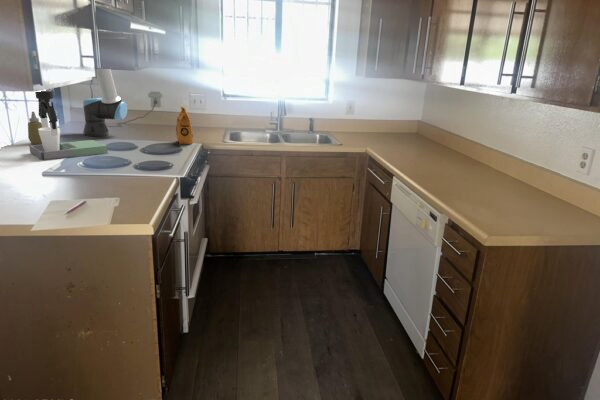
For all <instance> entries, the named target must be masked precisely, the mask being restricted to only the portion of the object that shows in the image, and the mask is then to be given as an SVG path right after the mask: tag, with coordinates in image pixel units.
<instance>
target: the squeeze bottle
mask: <svg viewBox="0 0 600 400" xmlns="http://www.w3.org/2000/svg"><path fill="white" fill-rule="evenodd" d="M30 116H31V117H30V118H28V121H29V122H28V123H27V133H28V134H27V135H28V136H27V137H28V140H29V142H30V144H31V145H42V141H41V138H40V134H39V131H38V129H40V128H42V124H41V121H40V119H39V118H40V117H39V118H38V117H37V116H36V113H35V111H31V115H30Z"/></svg>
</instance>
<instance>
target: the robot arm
mask: <svg viewBox="0 0 600 400" xmlns="http://www.w3.org/2000/svg"><path fill="white" fill-rule="evenodd" d="M96 78H97V81H98V84H99V88H100V92H101V95H102V97H93V98H85V99H84V100H83V106H82V107H83V115H84V127H83V130H82V133H83V136H87V137H104V136H109V135H110V131H109V128H108V126H107V123H106V120H111V121H112V120H113V121H123V120H124V119H126V117H127V114H128V105H127V103H126V102H125V101H122V98H121V96H119V95H118V92H117V87H116V83H115V81H114V77H113V72H112V70H111V69H103V68H102V69H97V75H96ZM35 98H36V99H38V117H39V118H40V122H41V124H42V128H48V127H50V128H51V135H52V136H56V135H58V132H57V128H58V126H57V122H58V118H57V117H58V116H57V113H56V110H55V108H54V102H53V101H51V100H52V99H54V92H53V89H50V90H46V91H41V92H35ZM48 119H49V121H48ZM48 123H49V124H48Z"/></svg>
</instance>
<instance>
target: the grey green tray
mask: <svg viewBox="0 0 600 400" xmlns="http://www.w3.org/2000/svg"><path fill="white" fill-rule="evenodd" d="M28 147H29V152H30V155H33V156H34V157H36V158H37V159H39V160H41V161H48V160H49V161H51V160H57V159H58V160H59V159H67V158H68V159H69V158H76V157H85V156H92V155H95V156H96V155H103V154H108V153H109V150H108V145H106V144H104V143H101V142H99V141H97V140H95V139H90V140H89V139H88V140H79V141H78V140H77V141H66V142H59V150H57V151H47V152H44V148H43V145H42V144H38V145H35V144H31V145H29V146H28Z"/></svg>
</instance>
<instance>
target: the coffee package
mask: <svg viewBox="0 0 600 400" xmlns="http://www.w3.org/2000/svg"><path fill="white" fill-rule="evenodd" d="M180 109H181V111H180V112H179V114H178V115H177V118H176V127H175V133H176V139H177V142H178V143H179V144H180V145H191V144H193V141H194V135H193V126H192V123H191V119H190V115H189V114H188V111H187V110H186V107H185V106H181V107H180Z"/></svg>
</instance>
